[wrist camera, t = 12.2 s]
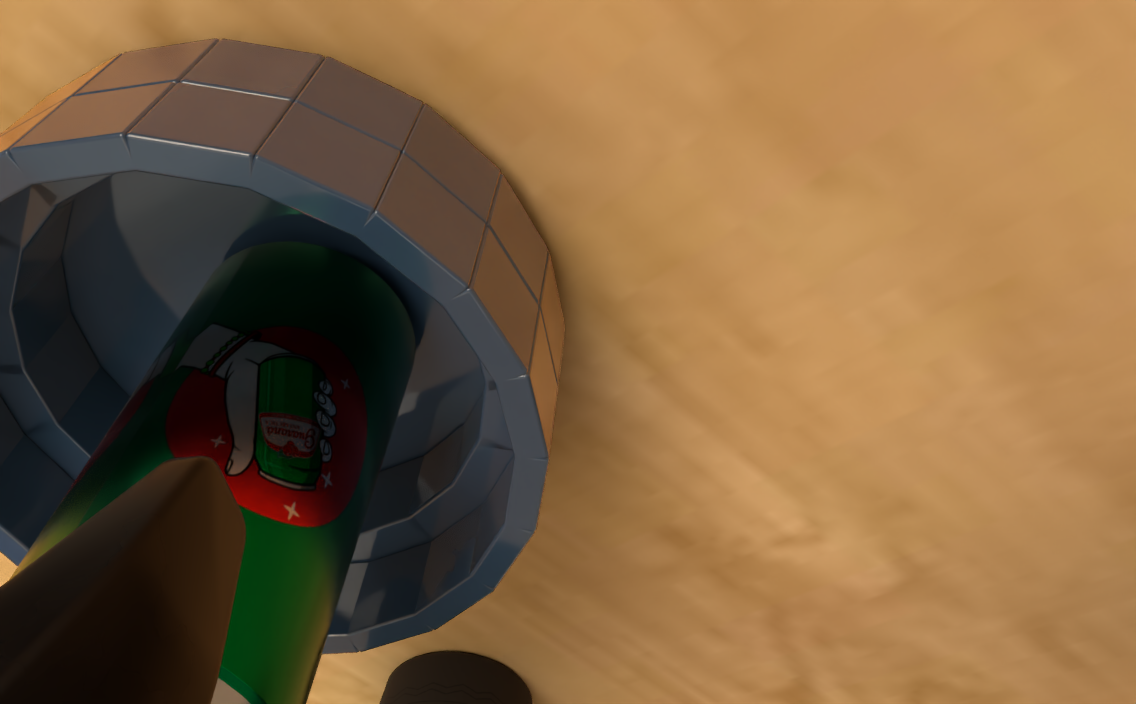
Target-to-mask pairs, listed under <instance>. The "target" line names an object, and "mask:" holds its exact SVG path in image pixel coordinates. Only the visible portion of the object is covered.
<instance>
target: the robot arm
mask: <svg viewBox="0 0 1136 704" xmlns="http://www.w3.org/2000/svg"><path fill="white" fill-rule="evenodd" d="M245 541H246V525H245V520H244V517H243V514H242V512H241V510H240V508H239V506H238V504H237V502H236V500H235V498H234V496H233V494H232V491H231V489H230V487H229V485H228V483H227V481H226V479H225V477H224V475H223V473H222V471H221V469H220V467H219V466H218V464H217V463H216V462H215V461H214V460H213V459H212V458H210V457H207V456H193V457H181V458H173V459H169V460H166V461H164V462H163V463H161V464H160V465H159V466H157V467H156V468H155V469H154V470H152V471H151V472H150V473H148V474H147V475H146V476H144V477H143V478H142V479H141V480H139V481H138V482H137V483H135V484H134V485H133V486H131V487H130V488H129V489H127V490H126V491H125V492H124V493H122V494H121V495H120V496H118V497H117V498H116V499H114V500H113V501H112V502H111V503H109V504H108V505H107V506H105V507H104V508H103V509H101V510H100V511H99V512H98V513H96V514H95V515H94V516H92V517H91V518H90V519H88V520H87V521H86V522H84V523H83V524H82V525H81V526H79V527H78V528H77V529H75V530H74V531H73V532H71V533H70V534H69V535H68V536H66V537H65V538H64V539H62V540H61V541H60V542H58V543H57V544H56V545H55V546H53V547H52V548H51V549H49V550H48V551H47V552H45V553H44V554H43V555H41V556H40V557H39V558H38V559H36V560H35V561H34V562H32V563H31V564H30V565H28V566H27V567H26V568H25V569H23V570H22V571H21V572H19V573H18V574H17V575H15V576H14V577H13V578H11V579H10V580H9V581H8V582H6V583H5V584H4V585H2V586H1V587H0V704H211V701H212V698H213V694H214V691H215V687H216V684H217V680H218V675H219V671H220V667H221V663H222V658H223V653H224V648H225V643H226V638H227V633H228V628H229V623H230V618H231V613H232V608H233V602H234V597H235V592H236V587H237V582H238V577H239V572H240V567H241V562H242V557H243V552H244V547H245Z"/></svg>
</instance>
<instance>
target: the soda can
mask: <svg viewBox="0 0 1136 704" xmlns="http://www.w3.org/2000/svg"><path fill="white" fill-rule="evenodd" d="M415 353H416V347H415V335H414V331H413V327H412V323H411V321H410V318H409V316H408V314H407V311H406V309H405V308H404V306H403V304H402V303H401V301H400V300H399V298H398V297H397V295H396V294H395V293H394V292H393V290H392V289H391V288H390V287H389V286H388V285H387V284H386V282H385V281H383V280H382V279H381V278H380V277H379V276H378V275H376V274H375V273H374V272H373V271H372V270H370V269H369V268H367V267H366V266H364V265H363V264H361V263H360V262H358V261H357V260H355V259H353V258H351V257H349V256H347V255H345V254H343V253H341V252H338V251H335V250H332V249H329V248H326V247H324V246H319V245H314V244H310V243H304V242H291V241H282V242H269V243H264V244H260V245H255V246H252V247H249V248H247V249H244V250H242V251H239V252H237V253H236V254H234V255H233V256H231V257H229V258H228V259H226V260H225V261H224V262H223V263H222V264H221V265H220V266H219V267H218V268H216V269H215V271H214V272H213V273H212V275H211V276H210V278H209V279H208V281H207V282H206V284H205V285H204V287H203V288H202V290H201V291H200V293H199V294H198V296H197V297H196V299H195V300H194V302H193V303H192V305H191V306H190V308H189V309H188V311H187V312H186V314H185V315H184V317H183V318H182V320H181V321H180V323H179V324H178V326H177V327H176V329H175V330H174V332H173V333H172V335H171V336H170V338H169V340H168V341H167V343H166V344H165V346H164V347H163V349H162V350H161V352H160V353H159V355H158V356H157V358H156V359H155V361H154V362H153V364H152V365H151V367H150V368H149V370H148V371H147V373H146V374H145V376H144V377H143V379H142V380H141V382H140V383H139V385H138V386H137V388H136V389H135V391H134V392H133V394H132V395H131V397H130V398H129V400H128V401H127V403H126V404H125V406H124V407H123V409H122V410H121V412H120V413H119V415H118V416H117V418H116V420H115V421H114V423H113V424H112V426H111V427H110V429H109V430H108V432H107V433H106V435H105V436H104V438H103V439H102V441H101V442H100V444H99V445H98V447H97V448H96V450H95V451H94V453H93V454H92V456H91V457H90V459H89V460H88V462H87V463H86V465H85V466H84V468H83V469H82V471H81V472H80V474H79V475H78V477H77V478H76V480H75V481H74V483H73V484H72V486H71V487H70V489H69V490H68V492H67V493H66V495H65V497H64V498H63V500H62V501H61V503H60V504H59V506H58V507H57V509H56V510H55V512H54V513H53V515H52V516H51V518H50V519H49V521H48V522H47V524H46V525H45V527H44V528H43V530H42V531H41V533H40V534H39V536H38V537H37V539H36V540H35V542H34V543H33V545H32V546H31V548H30V549H29V551H28V552H27V554H26V555H25V557H24V558H23V560H22V561H21V563H20V564H19V566H18V567H17V569H16V570H15V572H14V573H13V575H12V577H11V578H13V577H14V576H15V575H17V574H18V573H19V572H21V571H22V570H23V569H25V568H26V567H27V566H28V565H30V564H31V563H32V562H34V561H35V560H36V559H38V558H39V557H40V556H41V555H43V554H44V553H45V552H47V551H48V550H49V549H51V548H52V547H53V546H55V545H56V544H57V543H58V542H60V541H61V540H62V539H64V538H65V537H66V536H68V535H69V534H70V533H71V532H73V531H74V530H75V529H77V528H78V527H79V526H81V525H82V524H83V523H84V522H86V521H87V520H88V519H90V518H91V517H92V516H94V515H95V514H96V513H98V512H99V511H100V510H101V509H103V508H104V507H105V506H107V505H108V504H109V503H111V502H112V501H113V500H114V499H116V498H117V497H118V496H120V495H121V494H122V493H124V492H125V491H126V490H127V489H129V488H130V487H131V486H133V485H134V484H135V483H137V482H138V481H139V480H141V479H142V478H143V477H144V476H146V475H147V474H148V473H150V472H151V471H152V470H154V469H155V468H156V467H157V466H159V465H160V464H161V463H163V462H164V461H166V460H169V459H173V458H181V457H193V456H207V457H210V458H212V459H213V460H214V461H215V462H216V463H217V464H218V466H219V467H220V469H221V471H222V473H223V475H224V477H225V479H226V481H227V483H228V485H229V487H230V489H231V491H232V494H233V496H234V498H235V500H236V502H237V504H238V506H239V508H240V510H241V512H242V514H243V517H244V520H245V525H246V541H245V547H244V552H243V557H242V562H241V567H240V572H239V577H238V582H237V587H236V592H235V597H234V602H233V608H232V613H231V618H230V623H229V628H228V633H227V638H226V643H225V648H224V653H223V658H222V663H221V667H220V671H219V675H218V680H217V684H216V687H215V691H214V694H213V698H212V701H211V704H306V702H307V699H308V696H309V692H310V689H311V686H312V683H313V680H314V677H315V674H316V670H317V667H318V664H319V661H320V658H321V655H322V652H323V648H324V645H325V642H326V639H327V636H328V633H329V630H330V626H331V623H332V620H333V617H334V614H335V611H336V608H337V604H338V601H339V598H340V595H341V592H342V589H343V586H344V582H345V579H346V576H347V573H348V570H349V567H350V563H351V560H352V557H353V554H354V551H355V548H356V545H357V541H358V538H359V535H360V532H361V529H362V526H363V523H364V519H365V516H366V513H367V510H368V507H369V504H370V501H371V497H372V494H373V491H374V488H375V485H376V482H377V479H378V475H379V472H380V469H381V466H382V463H383V460H384V457H385V453H386V450H387V447H388V444H389V441H390V438H391V435H392V431H393V428H394V425H395V422H396V419H397V416H398V413H399V409H400V406H401V403H402V400H403V397H404V394H405V391H406V387H407V384H408V381H409V378H410V375H411V372H412V369H413V365H414V360H415ZM11 578H10V579H11Z"/></svg>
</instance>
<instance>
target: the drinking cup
mask: <svg viewBox="0 0 1136 704" xmlns="http://www.w3.org/2000/svg"><path fill="white" fill-rule="evenodd" d="M380 704H532V698H531V694H530V692H529V690H528V688H527V686H526V685H525V683H524V682H523V681H522V680H521V678H519V677H518V676H517V675H516V674H515V673H514V672H513V671H511V670H510V669H508V668H507V667H505V666H503V665H501V664H499V663H497V662H495V661H493V660H490V659H488V658H484V657H481V656H478V655H473V654H469V653H461V652H435V653H429V654H424V655H420V656H417V657H414V658H412V659H410V660H408V661H406V662H404V663H403V664H401V665H400V666H399V667H398V668H396V669H395V671H394V672H393V673H392V674H391V676H390V677H389V679H388V682H387V684H386V687H385V690H384V693H383V696H382V699H381V701H380Z"/></svg>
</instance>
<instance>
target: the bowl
mask: <svg viewBox="0 0 1136 704" xmlns="http://www.w3.org/2000/svg"><path fill="white" fill-rule="evenodd" d="M282 241H291V242H304V243H310V244H314V245H319V246H324V247H326V248H329V249H332V250H335V251H338V252H341V253H343V254H345V255H347V256H349V257H351V258H353V259H355V260H357V261H358V262H360V263H361V264H363V265H364V266H366V267H367V268H369V269H370V270H372V271H373V272H374V273H375V274H376V275H378V276H379V277H380V278H381V279H382V280H383V281H385V282H386V284H387V285H388V286H389V287H390V288H391V289H392V290H393V292H394V293H395V294H396V295H397V297H398V298H399V300H400V301H401V303H402V304H403V306H404V308H405V309H406V311H407V314H408V316H409V318H410V321H411V323H412V327H413V331H414V335H415V347H416V353H415V360H414V365H413V369H412V372H411V375H410V378H409V381H408V384H407V387H406V391H405V394H404V397H403V400H402V403H401V406H400V409H399V413H398V416H397V419H396V422H395V425H394V428H393V431H392V435H391V438H390V441H389V444H388V447H387V450H386V453H385V457H384V460H383V463H382V466H381V469H380V472H379V475H378V479H377V482H376V485H375V488H374V491H373V494H372V497H371V501H370V504H369V507H368V510H367V513H366V516H365V519H364V523H363V526H362V529H361V532H360V535H359V538H358V541H357V545H356V548H355V551H354V554H353V557H352V560H351V563H350V567H349V570H348V573H347V576H346V579H345V582H344V586H343V589H342V592H341V595H340V598H339V601H338V604H337V608H336V611H335V614H334V617H333V620H332V623H331V626H330V630H329V633H328V636H327V639H326V642H325V645H324V648H323V652H322V654H338V653H357V652H359V651H360V652H362V651H366V650H369V649H372V648H376V647H379V646H382V645H386V644H389V643H393V642H396V641H399V640H403V639H406V638H409V637H413V636H416V635H420V634H423V633H426V632H430V631H432V630H436V629H437V628H439V627H440V626H442V625H443V624H445V623H446V622H448V621H449V620H451V619H452V618H454V617H455V616H457V615H458V614H460V613H461V612H463V611H464V610H466V609H467V608H469V607H470V606H472V605H473V604H475V603H477V602H478V601H480V600H481V599H483V598H484V597H486V596H487V595H489V594H490V593H492V592H493V591H494V590H495V588H496V587H497V586H498V584H499V583H500V582H501V580H502V579H503V577H504V576H505V574H506V573H507V572H508V570H509V569H510V567H511V566H512V564H513V563H514V562H515V560H516V559H517V557H518V556H519V554H520V553H521V552H522V550H523V549H524V547H525V546H526V544H527V543H528V542H529V540H530V539H531V537H532V536H533V534H534V533H535V530H536V529H537V525H538V519H539V514H540V508H541V503H542V497H543V492H544V486H545V481H546V475H547V470H548V464H549V458H550V450H551V442H552V434H553V426H554V418H555V410H556V402H557V394H558V386H559V378H560V370H561V361H562V353H563V345H564V337H565V323H564V318H563V313H562V308H561V304H560V299H559V294H558V289H557V284H556V280H555V275H554V270H553V265H552V260H551V256H550V253H549V252H548V248H547V246H546V244H545V243H544V241H543V239H542V238H541V236H540V234H539V233H538V231H537V229H536V228H535V226H534V224H533V223H532V221H531V219H530V218H529V216H528V214H527V213H526V211H525V209H524V208H523V206H522V205H521V203H520V201H519V200H518V198H517V196H516V195H515V193H514V191H513V190H512V188H511V186H510V185H509V183H508V181H507V180H506V178H505V176H504V175H503V174H502V173H501V171H500V169H499V168H498V167H497V166H495V165H494V164H493V163H492V162H491V161H490V160H489V159H488V158H487V157H485V156H484V155H483V154H482V153H481V152H480V151H479V150H478V149H476V148H475V147H474V146H473V145H472V144H471V143H470V142H469V141H467V140H466V139H465V138H464V137H463V136H462V135H461V134H460V133H458V132H457V131H456V130H455V129H454V128H453V127H452V126H451V125H449V124H448V123H447V122H446V121H445V120H444V119H443V118H442V117H441V116H439V115H438V114H437V113H436V112H435V111H434V110H433V109H432V108H430V107H429V106H428V105H427V104H423V102H422V101H420V100H418V99H416V98H414V97H412V96H410V95H408V94H406V93H403V92H401V91H399V90H397V89H395V88H393V87H391V86H389V85H387V84H385V83H383V82H381V81H379V80H377V79H374V78H372V77H370V76H368V75H366V74H364V73H362V72H360V71H358V70H356V69H354V68H352V67H350V66H347V65H345V64H343V63H341V62H339V61H337V60H335V59H333V58H331V57H326V58H325V57H324V56H323V55H319V54H312V53H306V52H300V51H294V50H288V49H282V48H276V47H270V46H264V45H258V44H252V43H246V42H240V41H234V40H228V39H221V40H219V39H208V40H202V41H195V42H189V43H182V44H176V45H169V46H163V47H156V48H150V49H143V50H137V51H130V52H125V53H124V54H122V53H121V54H118V55H116V56H115V57H113V58H111V59H110V60H108V61H106V62H104V63H103V64H101V65H99V66H98V67H96V68H94V69H93V70H91V71H89V72H87V73H86V74H84V75H82V76H81V77H79V78H77V79H75V80H74V81H72V82H70V83H69V84H67V85H65V86H64V87H62V88H60V89H58V90H57V91H55V92H53V93H52V94H50V95H48V96H47V97H46V98H44V99H43V100H42V101H41V102H40V103H38V104H37V105H36V106H35V107H33V108H32V109H31V110H30V111H28V112H27V113H26V114H25V115H23V116H22V117H21V118H20V119H19V120H17V121H16V122H15V123H14V124H12V125H11V126H10V127H9V128H7V129H6V130H5V131H4V132H2V133H1V134H0V552H1V553H2V554H4V555H5V556H6V557H7V558H8V559H9V560H11V561H12V562H13V563H14V564H15V565H16V566H19V564H20V563H21V561H22V560H23V558H24V557H25V555H26V554H27V552H28V551H29V549H30V548H31V546H32V545H33V543H34V542H35V540H36V539H37V537H38V536H39V534H40V533H41V531H42V530H43V528H44V527H45V525H46V524H47V522H48V521H49V519H50V518H51V516H52V515H53V513H54V512H55V510H56V509H57V507H58V506H59V504H60V503H61V501H62V500H63V498H64V497H65V495H66V493H67V492H68V490H69V489H70V487H71V486H72V484H73V483H74V481H75V480H76V478H77V477H78V475H79V474H80V472H81V471H82V469H83V468H84V466H85V465H86V463H87V462H88V460H89V459H90V457H91V456H92V454H93V453H94V451H95V450H96V448H97V447H98V445H99V444H100V442H101V441H102V439H103V438H104V436H105V435H106V433H107V432H108V430H109V429H110V427H111V426H112V424H113V423H114V421H115V420H116V418H117V416H118V415H119V413H120V412H121V410H122V409H123V407H124V406H125V404H126V403H127V401H128V400H129V398H130V397H131V395H132V394H133V392H134V391H135V389H136V388H137V386H138V385H139V383H140V382H141V380H142V379H143V377H144V376H145V374H146V373H147V371H148V370H149V368H150V367H151V365H152V364H153V362H154V361H155V359H156V358H157V356H158V355H159V353H160V352H161V350H162V349H163V347H164V346H165V344H166V343H167V341H168V340H169V338H170V336H171V335H172V333H173V332H174V330H175V329H176V327H177V326H178V324H179V323H180V321H181V320H182V318H183V317H184V315H185V314H186V312H187V311H188V309H189V308H190V306H191V305H192V303H193V302H194V300H195V299H196V297H197V296H198V294H199V293H200V291H201V290H202V288H203V287H204V285H205V284H206V282H207V281H208V279H209V278H210V276H211V275H212V273H213V272H214V271H215V269H216V268H218V267H219V266H220V265H221V264H222V263H223V262H224V261H225V260H226V259H228V258H229V257H231V256H233V255H234V254H236V253H237V252H239V251H242V250H244V249H247V248H249V247H252V246H255V245H260V244H264V243H269V242H282Z"/></svg>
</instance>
